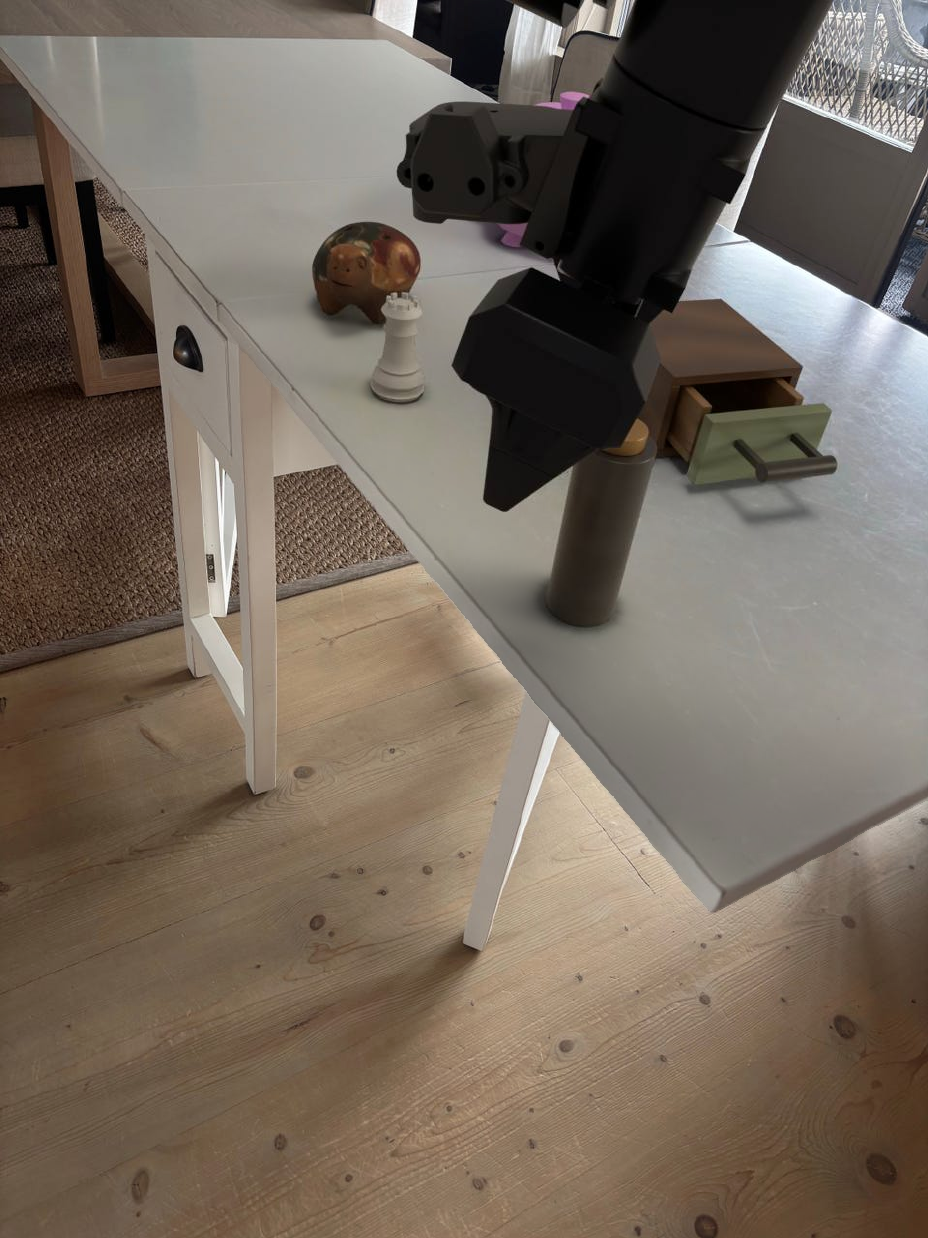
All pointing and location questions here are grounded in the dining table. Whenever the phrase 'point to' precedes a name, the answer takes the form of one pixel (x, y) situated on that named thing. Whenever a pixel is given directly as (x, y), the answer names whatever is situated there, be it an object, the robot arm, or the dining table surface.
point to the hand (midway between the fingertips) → (523, 451)
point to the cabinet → (706, 358)
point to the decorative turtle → (364, 268)
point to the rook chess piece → (399, 352)
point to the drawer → (749, 431)
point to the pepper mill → (599, 529)
